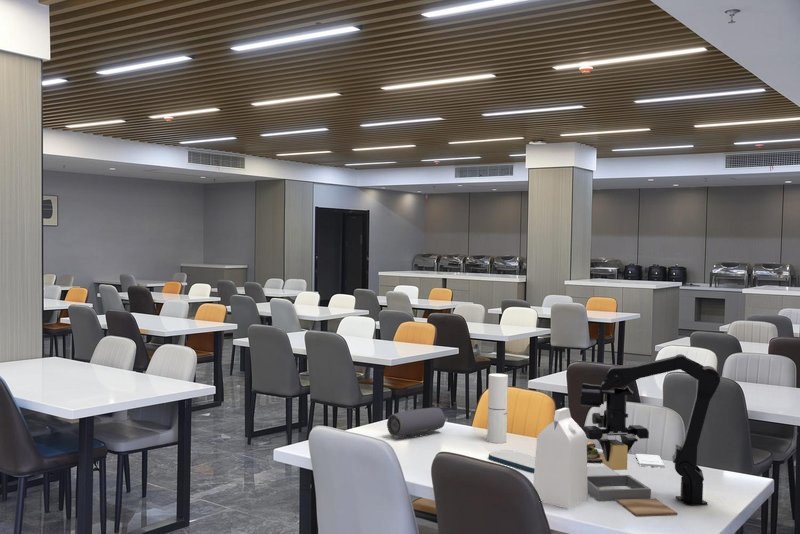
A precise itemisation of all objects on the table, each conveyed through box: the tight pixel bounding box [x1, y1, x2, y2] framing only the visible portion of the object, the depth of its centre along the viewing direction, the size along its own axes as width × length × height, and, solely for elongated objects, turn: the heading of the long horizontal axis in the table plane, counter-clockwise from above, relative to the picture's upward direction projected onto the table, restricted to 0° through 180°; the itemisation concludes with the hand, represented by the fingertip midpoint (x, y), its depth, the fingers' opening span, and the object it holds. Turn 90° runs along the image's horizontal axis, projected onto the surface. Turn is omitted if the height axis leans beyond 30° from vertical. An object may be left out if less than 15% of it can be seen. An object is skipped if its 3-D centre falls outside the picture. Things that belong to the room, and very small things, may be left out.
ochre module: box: [602, 439, 629, 471], centre depth 220 cm, size 7×4×7 cm, turn 9°
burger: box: [587, 440, 603, 462], centre depth 257 cm, size 12×12×8 cm
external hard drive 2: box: [634, 453, 666, 469], centre depth 254 cm, size 2×8×12 cm
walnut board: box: [616, 497, 678, 517], centre depth 207 cm, size 12×12×1 cm
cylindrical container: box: [486, 373, 509, 444], centre depth 278 cm, size 7×7×25 cm
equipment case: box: [587, 465, 652, 502], centre depth 227 cm, size 28×16×3 cm, turn 9°
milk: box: [532, 407, 589, 510], centre depth 213 cm, size 12×12×26 cm
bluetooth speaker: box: [386, 407, 446, 438], centre depth 285 cm, size 23×9×10 cm, turn 130°
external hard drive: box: [488, 449, 536, 474], centre depth 249 cm, size 24×12×2 cm, turn 40°
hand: (614, 460), depth 220 cm, fingers closed on ochre module, 4 cm apart
